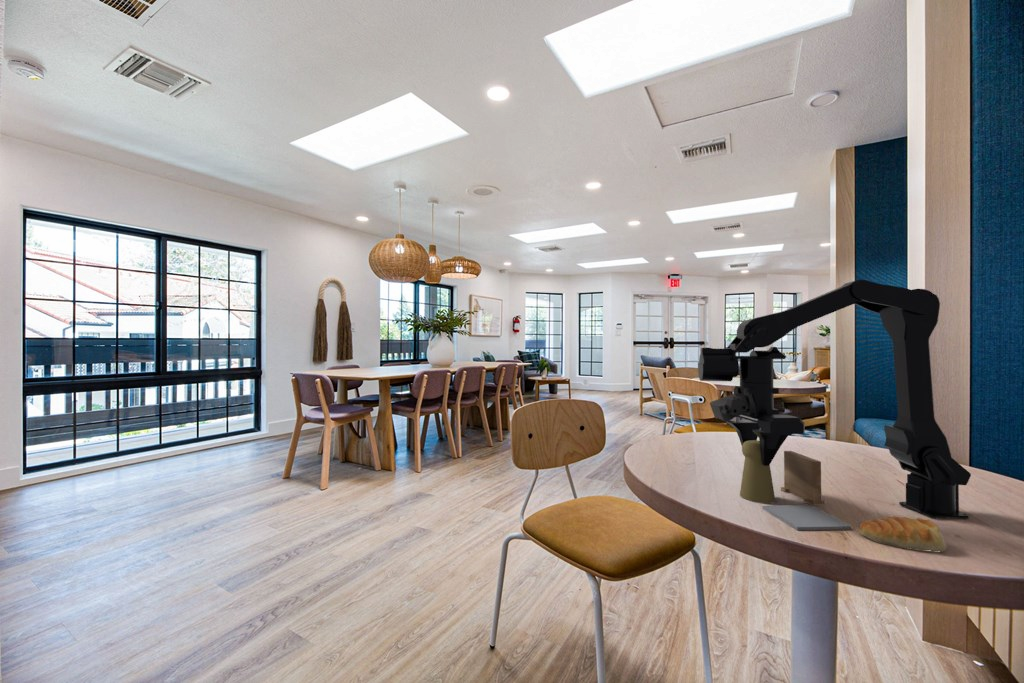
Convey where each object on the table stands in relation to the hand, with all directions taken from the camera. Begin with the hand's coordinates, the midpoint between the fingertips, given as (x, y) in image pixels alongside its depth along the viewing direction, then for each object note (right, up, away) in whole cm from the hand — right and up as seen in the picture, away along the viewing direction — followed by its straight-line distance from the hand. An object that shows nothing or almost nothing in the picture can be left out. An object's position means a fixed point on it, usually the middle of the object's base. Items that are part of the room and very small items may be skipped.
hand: (756, 461), depth 82 cm
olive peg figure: (0, -7, 0) cm, 7 cm away
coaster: (+2, -7, -10) cm, 12 cm away
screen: (+9, -7, 0) cm, 11 cm away
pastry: (+11, -7, -18) cm, 23 cm away
